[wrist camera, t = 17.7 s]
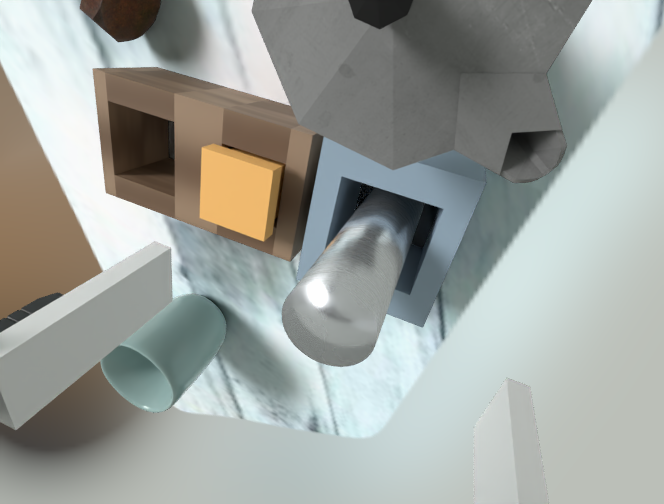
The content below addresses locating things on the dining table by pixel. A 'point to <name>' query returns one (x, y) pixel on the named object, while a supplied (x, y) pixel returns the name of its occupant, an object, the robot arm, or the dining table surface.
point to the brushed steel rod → (353, 282)
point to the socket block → (199, 147)
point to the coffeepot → (425, 77)
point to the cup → (166, 353)
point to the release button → (240, 190)
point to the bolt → (122, 16)
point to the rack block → (410, 181)
